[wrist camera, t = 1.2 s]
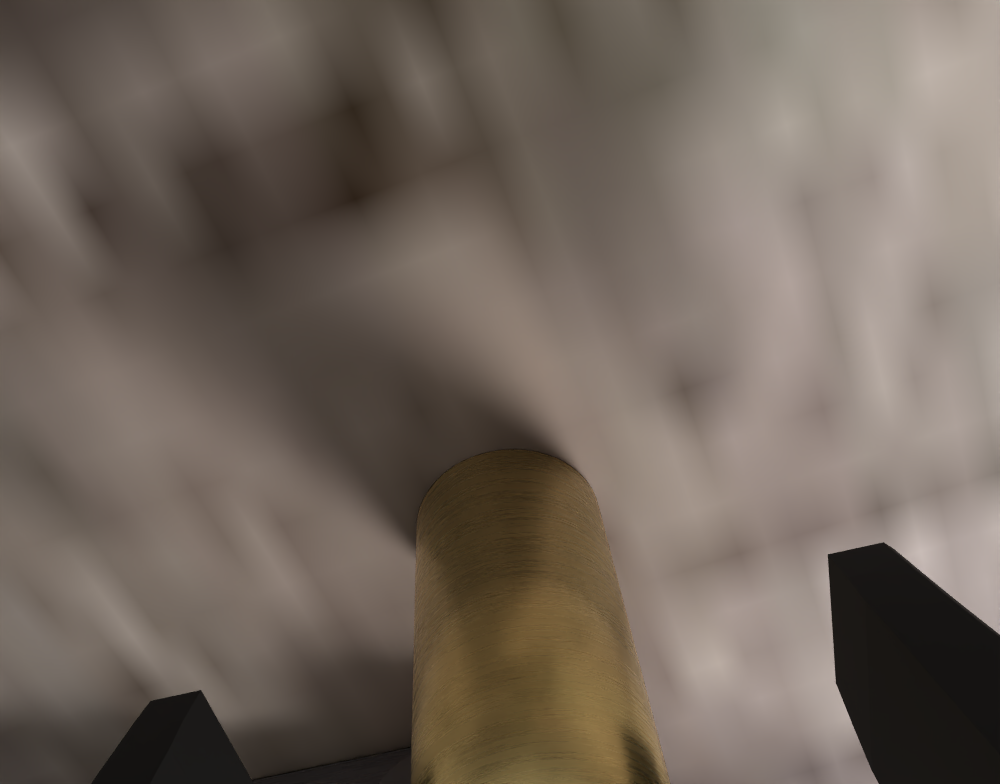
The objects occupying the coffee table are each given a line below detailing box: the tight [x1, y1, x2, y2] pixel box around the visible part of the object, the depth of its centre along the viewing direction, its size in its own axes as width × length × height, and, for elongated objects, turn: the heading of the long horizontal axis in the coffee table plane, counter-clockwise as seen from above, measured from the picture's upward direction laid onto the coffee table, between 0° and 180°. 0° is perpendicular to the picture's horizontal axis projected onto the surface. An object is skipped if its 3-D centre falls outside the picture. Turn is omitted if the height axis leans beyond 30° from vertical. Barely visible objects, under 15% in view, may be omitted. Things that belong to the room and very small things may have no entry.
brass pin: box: [411, 449, 670, 784], centre depth 10 cm, size 3×3×8 cm
